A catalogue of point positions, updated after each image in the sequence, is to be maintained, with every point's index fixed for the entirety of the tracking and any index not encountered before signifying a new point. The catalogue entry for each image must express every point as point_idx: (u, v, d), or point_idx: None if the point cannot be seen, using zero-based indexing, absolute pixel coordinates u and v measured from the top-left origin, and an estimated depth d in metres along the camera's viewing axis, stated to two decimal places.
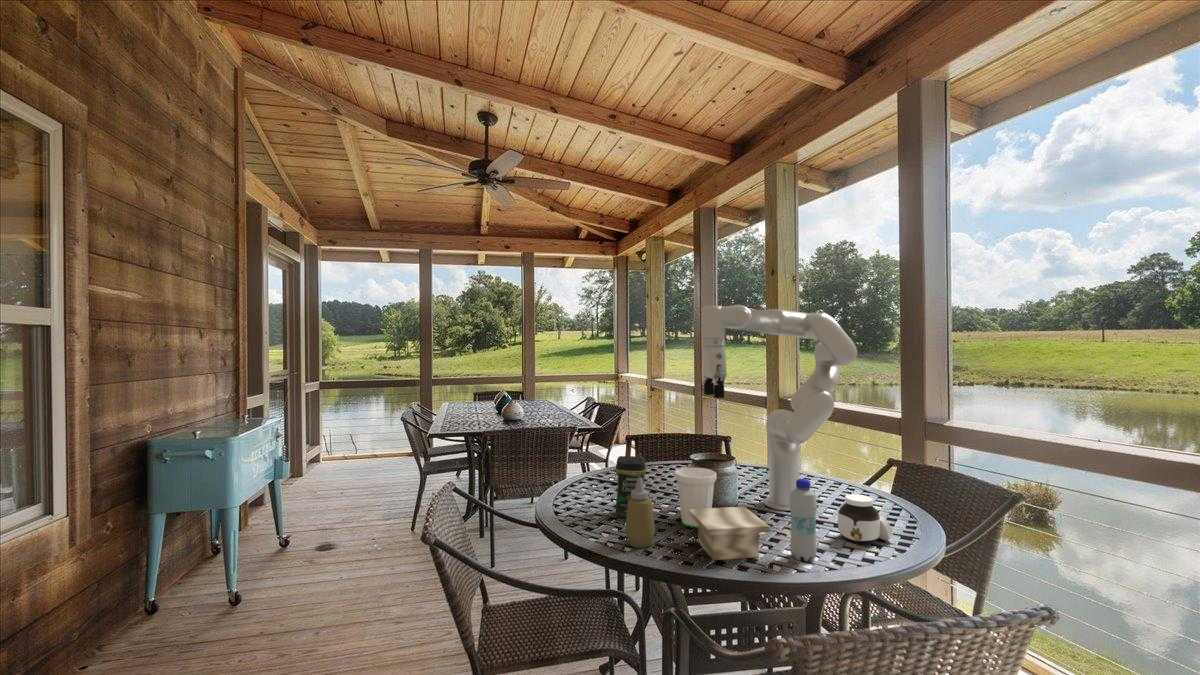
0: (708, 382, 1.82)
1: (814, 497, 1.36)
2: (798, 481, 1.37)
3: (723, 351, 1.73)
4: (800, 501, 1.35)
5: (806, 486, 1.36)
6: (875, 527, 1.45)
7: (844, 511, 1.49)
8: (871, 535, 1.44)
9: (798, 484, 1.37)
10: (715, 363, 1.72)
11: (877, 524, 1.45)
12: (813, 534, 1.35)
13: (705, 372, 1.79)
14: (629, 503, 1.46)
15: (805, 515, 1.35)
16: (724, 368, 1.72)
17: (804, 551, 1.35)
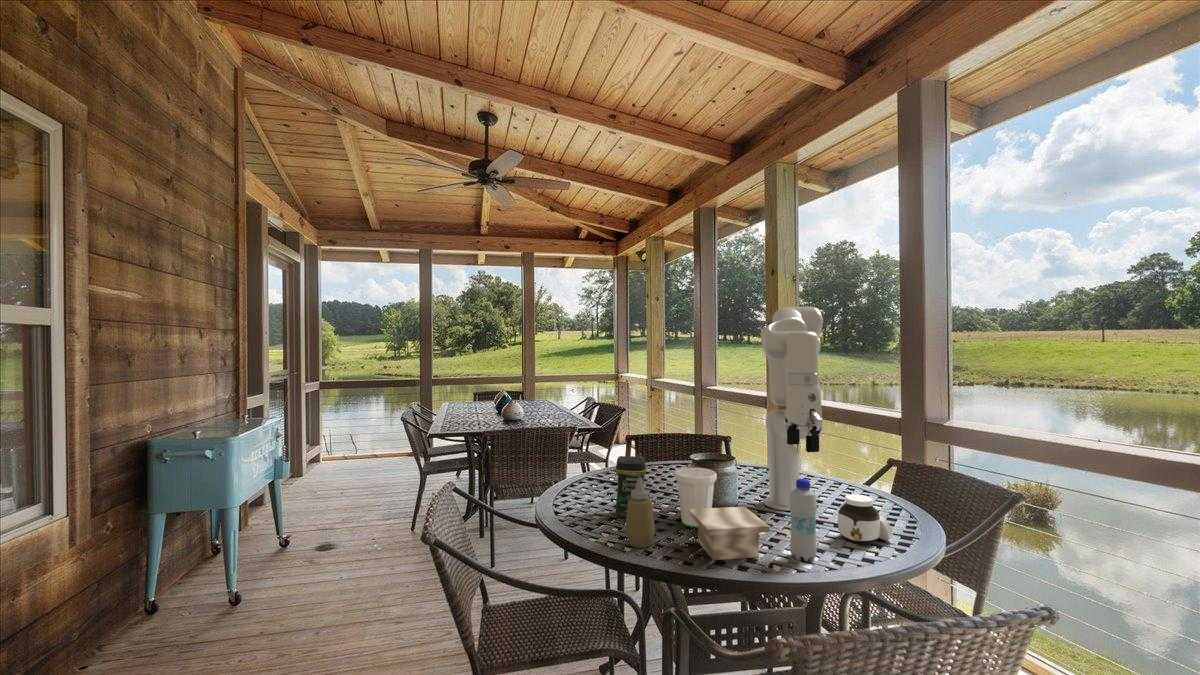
0: (792, 429, 1.42)
1: (814, 497, 1.36)
2: (798, 481, 1.37)
3: (817, 391, 1.33)
4: (800, 501, 1.35)
5: (806, 486, 1.36)
6: (875, 527, 1.45)
7: (844, 511, 1.49)
8: (871, 535, 1.44)
9: (798, 484, 1.37)
10: (807, 407, 1.33)
11: (877, 524, 1.45)
12: (813, 534, 1.35)
13: (790, 417, 1.39)
14: (629, 503, 1.46)
15: (805, 515, 1.35)
16: (819, 413, 1.33)
17: (804, 551, 1.35)
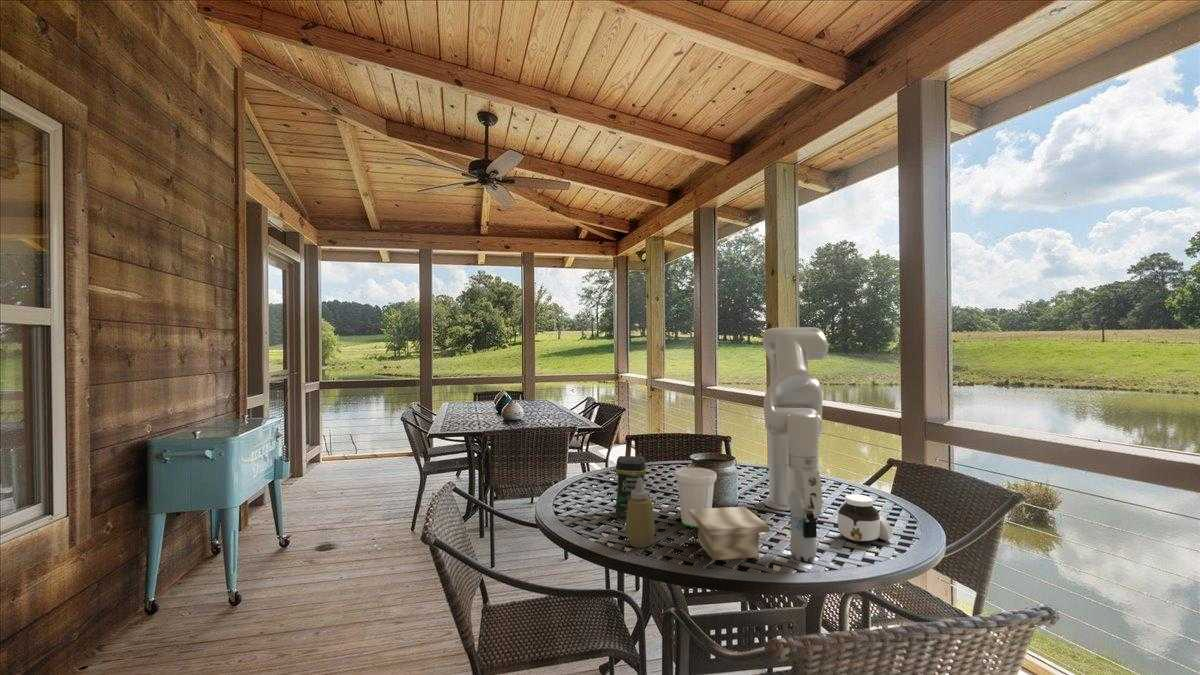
0: None
1: None
2: None
3: (818, 475, 1.33)
4: None
5: None
6: (875, 527, 1.45)
7: (844, 510, 1.49)
8: (871, 535, 1.44)
9: None
10: (808, 491, 1.33)
11: (877, 524, 1.45)
12: None
13: None
14: (629, 503, 1.46)
15: None
16: (820, 497, 1.33)
17: (804, 551, 1.35)
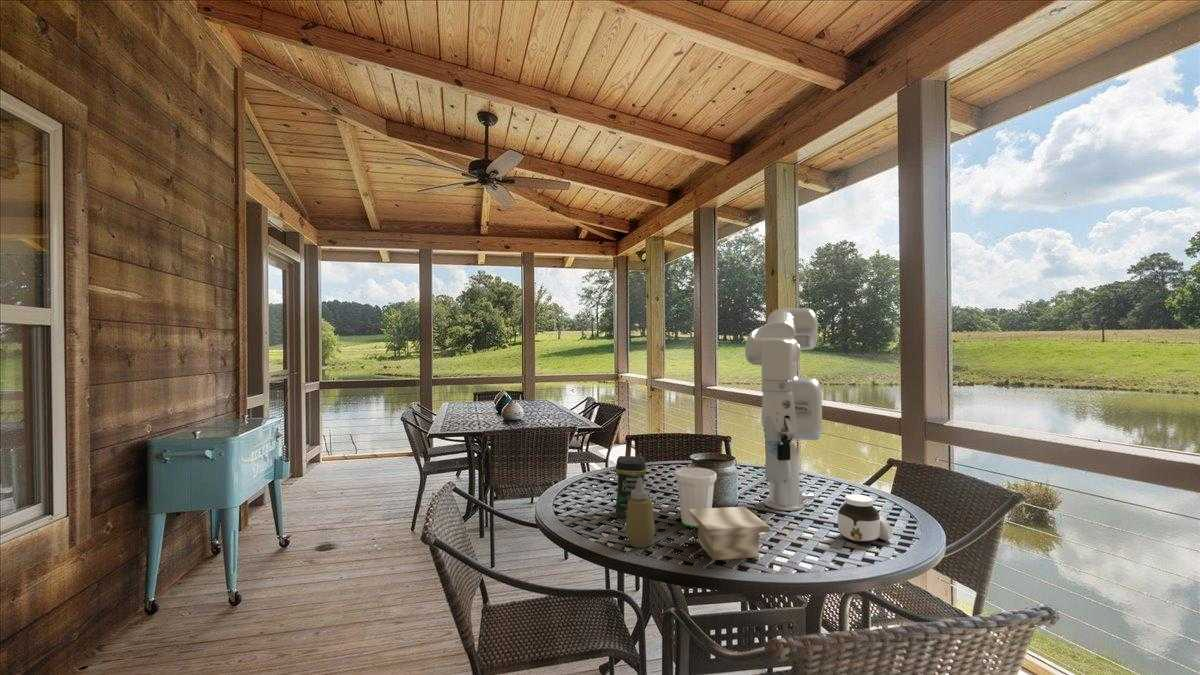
0: None
1: None
2: None
3: (792, 398, 1.35)
4: None
5: None
6: (875, 527, 1.45)
7: (844, 510, 1.49)
8: (871, 535, 1.44)
9: None
10: (782, 414, 1.35)
11: (877, 524, 1.45)
12: None
13: None
14: (629, 503, 1.46)
15: None
16: (793, 420, 1.35)
17: (779, 474, 1.37)
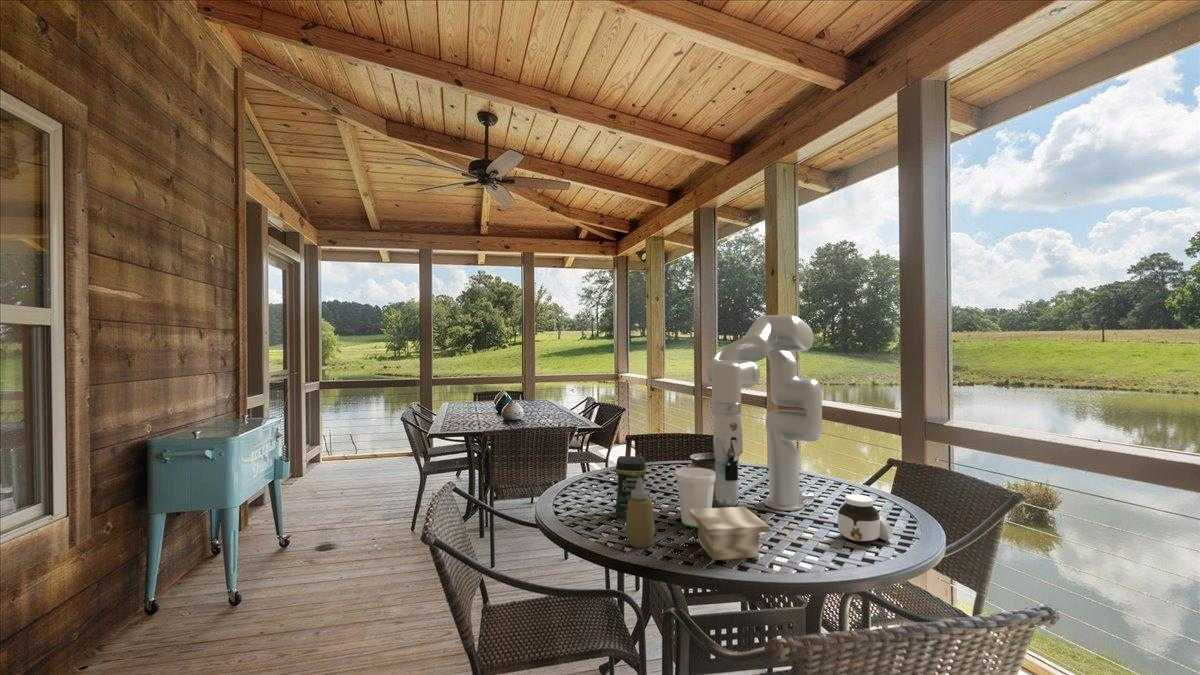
0: None
1: None
2: None
3: (739, 420, 1.39)
4: None
5: None
6: (875, 527, 1.45)
7: (844, 510, 1.49)
8: (871, 535, 1.44)
9: None
10: (729, 435, 1.38)
11: (877, 524, 1.45)
12: None
13: None
14: (629, 503, 1.46)
15: None
16: (740, 441, 1.39)
17: (726, 494, 1.40)
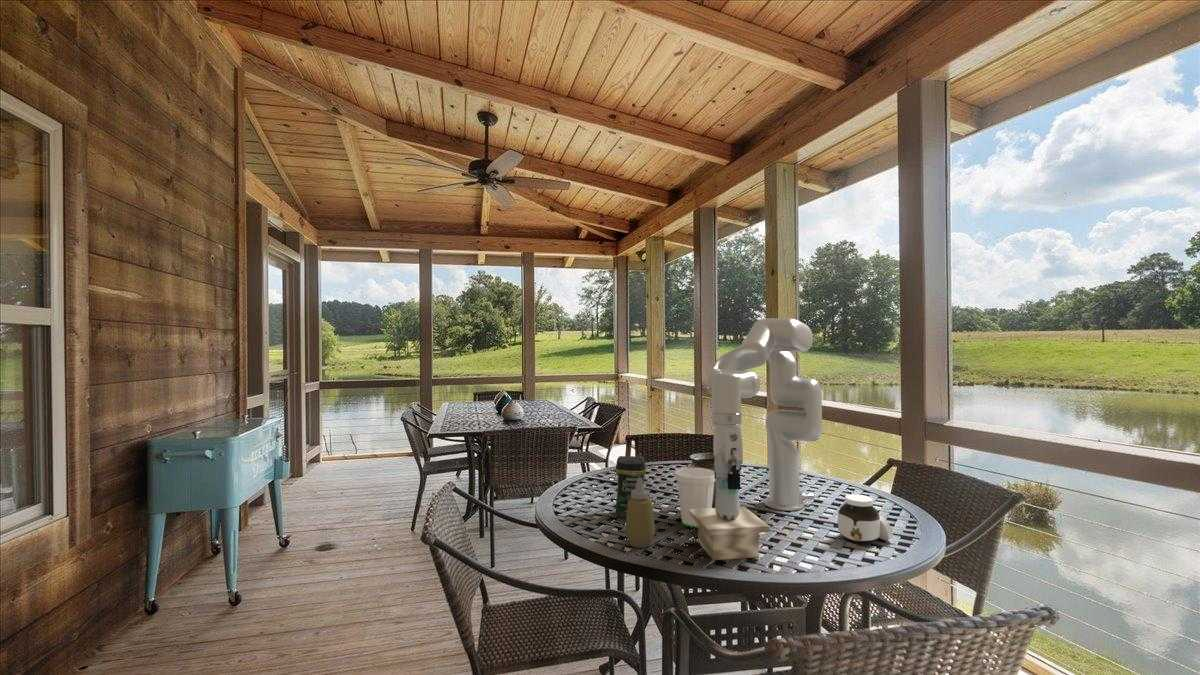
0: None
1: None
2: None
3: (739, 431, 1.39)
4: None
5: None
6: (875, 527, 1.45)
7: (844, 511, 1.49)
8: (871, 535, 1.44)
9: None
10: (729, 446, 1.38)
11: (877, 524, 1.45)
12: (735, 494, 1.41)
13: None
14: (629, 503, 1.46)
15: None
16: (740, 452, 1.39)
17: (727, 510, 1.41)
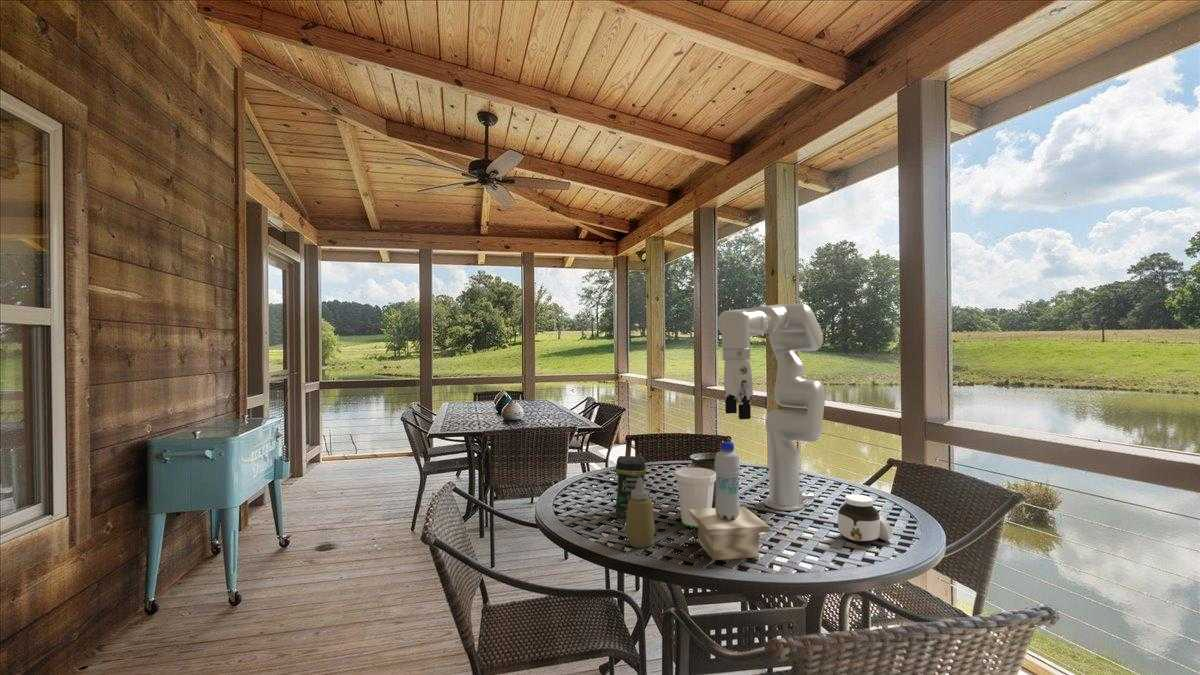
0: (730, 399, 1.57)
1: (737, 458, 1.41)
2: (722, 443, 1.43)
3: (748, 364, 1.48)
4: (723, 462, 1.41)
5: (729, 448, 1.42)
6: (875, 527, 1.45)
7: (844, 511, 1.49)
8: (871, 535, 1.44)
9: (722, 446, 1.43)
10: (739, 379, 1.47)
11: (877, 524, 1.45)
12: (735, 494, 1.41)
13: (727, 388, 1.53)
14: (629, 503, 1.46)
15: (727, 475, 1.41)
16: (750, 384, 1.47)
17: (727, 510, 1.41)
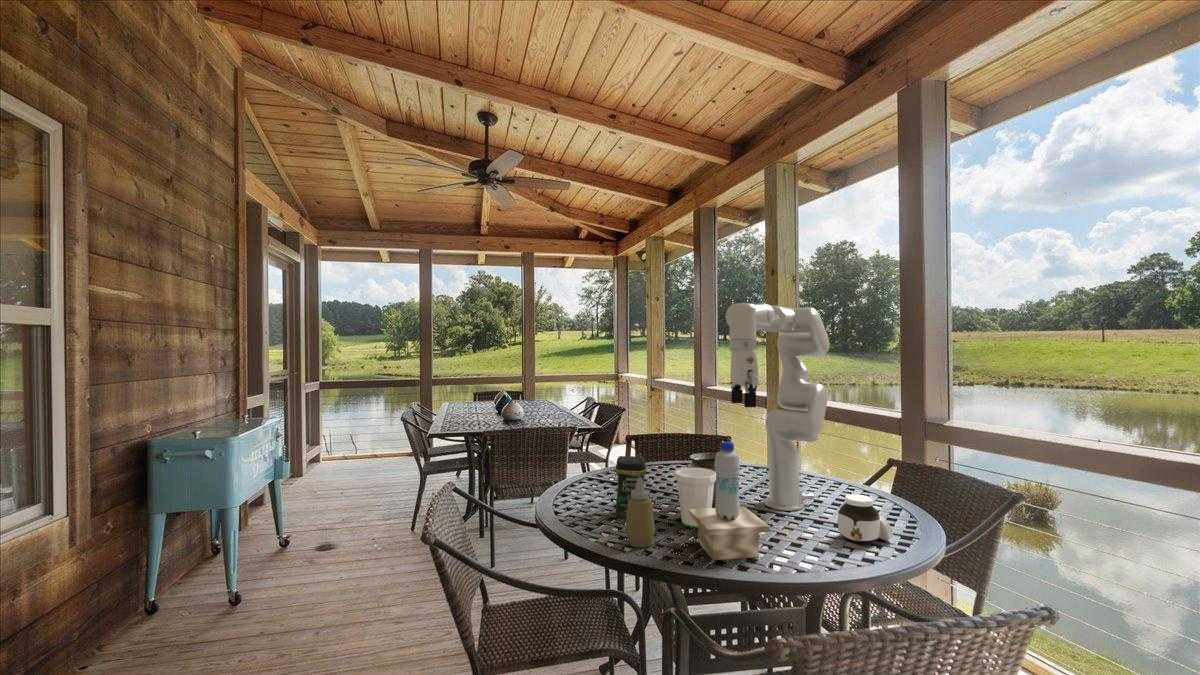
0: (736, 389, 1.62)
1: (737, 458, 1.41)
2: (722, 443, 1.43)
3: (755, 354, 1.53)
4: (723, 462, 1.41)
5: (729, 448, 1.42)
6: (875, 527, 1.45)
7: (844, 511, 1.49)
8: (871, 535, 1.44)
9: (722, 446, 1.43)
10: (746, 368, 1.53)
11: (877, 524, 1.45)
12: (735, 494, 1.41)
13: (733, 378, 1.59)
14: (629, 503, 1.46)
15: (727, 475, 1.41)
16: (756, 374, 1.53)
17: (727, 510, 1.41)
